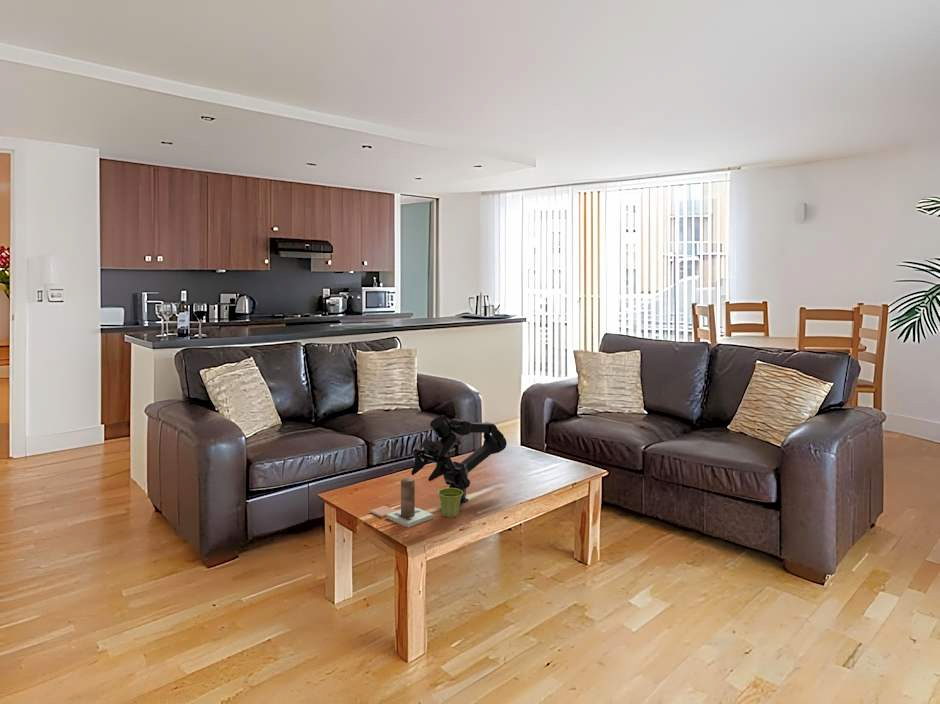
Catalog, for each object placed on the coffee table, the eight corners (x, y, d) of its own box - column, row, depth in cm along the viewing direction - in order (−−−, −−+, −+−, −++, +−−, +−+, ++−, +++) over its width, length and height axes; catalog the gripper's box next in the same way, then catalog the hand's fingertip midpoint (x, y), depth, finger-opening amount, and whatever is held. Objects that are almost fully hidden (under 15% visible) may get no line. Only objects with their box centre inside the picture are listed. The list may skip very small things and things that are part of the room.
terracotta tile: (384, 507, 243) (384, 505, 242) (396, 512, 238) (396, 510, 238) (369, 512, 237) (369, 510, 237) (381, 517, 233) (381, 515, 233)
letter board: (411, 509, 241) (411, 505, 241) (433, 518, 233) (433, 514, 233) (386, 518, 232) (386, 514, 232) (408, 527, 224) (408, 523, 224)
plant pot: (462, 509, 242) (463, 487, 241) (463, 519, 232) (463, 496, 231) (438, 509, 241) (438, 487, 240) (437, 519, 232) (437, 496, 231)
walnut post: (408, 511, 235) (408, 477, 234) (417, 514, 232) (417, 480, 230) (398, 514, 232) (398, 480, 230) (407, 518, 228) (407, 483, 227)
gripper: (418, 427, 244) (393, 458, 237) (452, 436, 232) (428, 469, 224) (430, 446, 250) (407, 476, 243) (465, 456, 238) (441, 488, 230)
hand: (420, 477), depth 235 cm, fingers open, 9 cm apart
